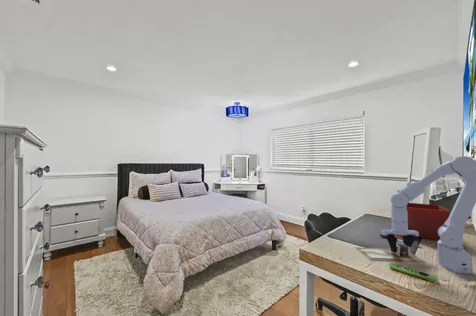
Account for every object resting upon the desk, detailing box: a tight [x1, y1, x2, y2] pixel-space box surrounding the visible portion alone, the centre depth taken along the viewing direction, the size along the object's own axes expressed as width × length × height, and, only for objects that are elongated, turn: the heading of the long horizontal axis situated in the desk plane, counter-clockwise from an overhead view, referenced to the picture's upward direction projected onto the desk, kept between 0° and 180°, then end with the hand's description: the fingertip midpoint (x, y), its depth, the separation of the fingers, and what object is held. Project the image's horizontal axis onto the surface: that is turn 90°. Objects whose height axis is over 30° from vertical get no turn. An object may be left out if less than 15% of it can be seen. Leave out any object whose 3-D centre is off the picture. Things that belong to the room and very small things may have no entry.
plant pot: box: [407, 202, 451, 241], centre depth 123 cm, size 19×19×17 cm
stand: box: [354, 247, 428, 264], centre depth 94 cm, size 14×22×4 cm, turn 86°
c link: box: [389, 242, 411, 256], centre depth 94 cm, size 5×5×4 cm
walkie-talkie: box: [379, 234, 423, 249], centre depth 111 cm, size 9×4×20 cm
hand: (400, 251), depth 94 cm, fingers closed on c link, 5 cm apart
